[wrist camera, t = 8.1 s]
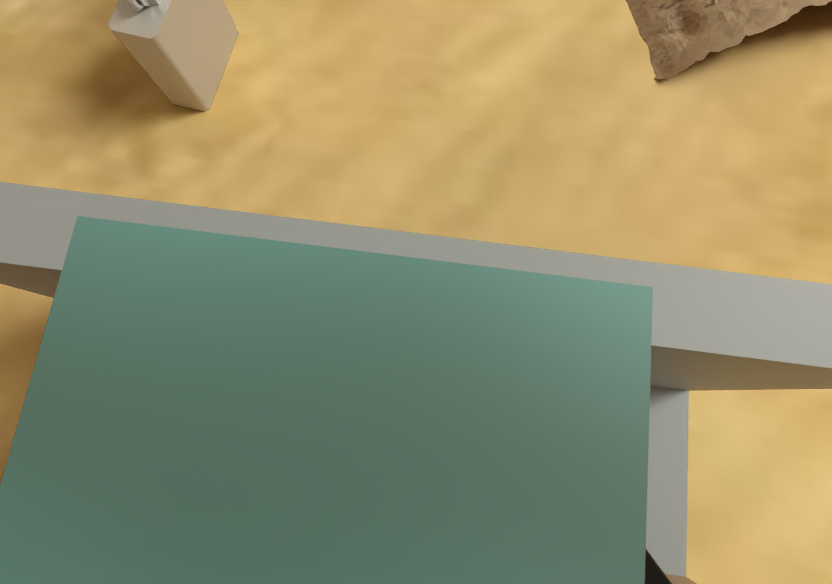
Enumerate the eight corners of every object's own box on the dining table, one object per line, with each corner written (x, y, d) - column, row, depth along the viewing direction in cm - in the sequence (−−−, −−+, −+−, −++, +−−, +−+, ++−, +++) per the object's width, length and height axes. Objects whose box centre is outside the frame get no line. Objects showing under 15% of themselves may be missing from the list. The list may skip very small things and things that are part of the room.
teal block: (455, 518, 15) (631, 1048, 3) (310, 498, 15) (-127, 924, 3) (470, 370, 16) (653, 286, 4) (334, 353, 16) (77, 215, 4)
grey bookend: (668, 646, 16) (1040, 1018, 7) (87, 564, 17) (-363, 797, 7) (675, 324, 19) (961, 247, 9) (161, 259, 19) (-104, 118, 9)
